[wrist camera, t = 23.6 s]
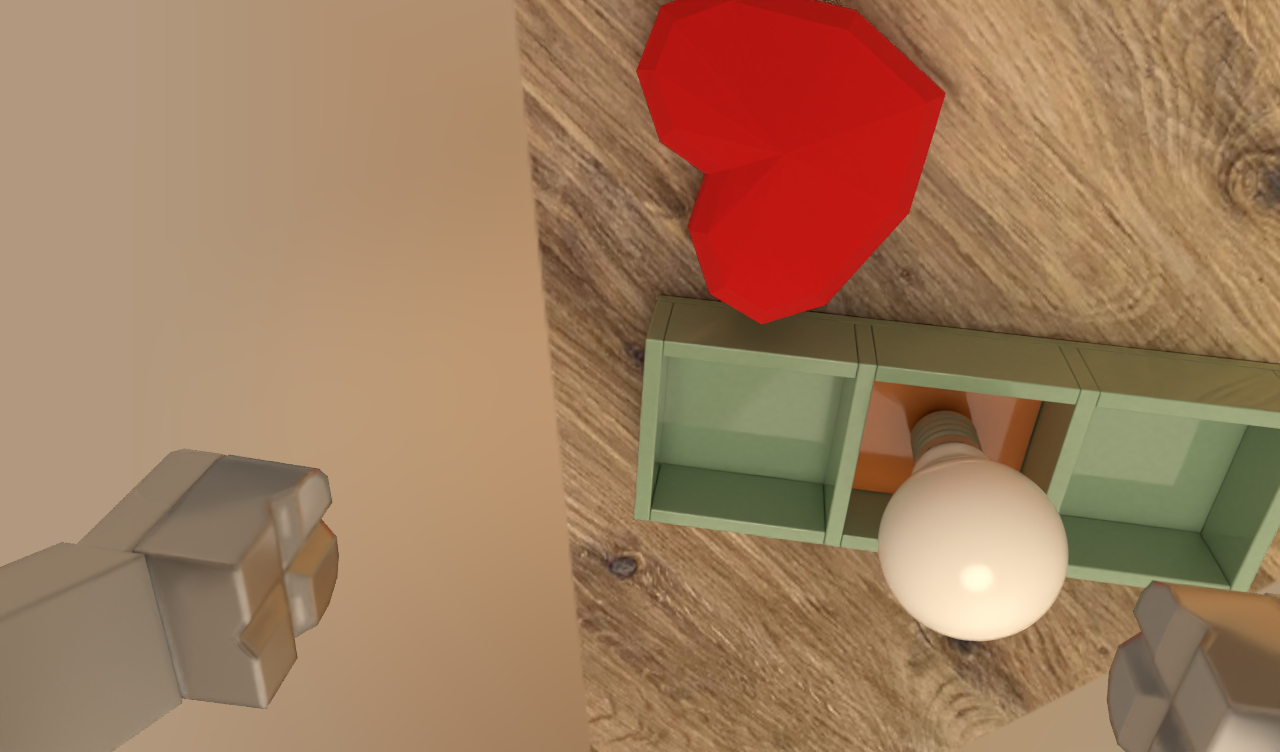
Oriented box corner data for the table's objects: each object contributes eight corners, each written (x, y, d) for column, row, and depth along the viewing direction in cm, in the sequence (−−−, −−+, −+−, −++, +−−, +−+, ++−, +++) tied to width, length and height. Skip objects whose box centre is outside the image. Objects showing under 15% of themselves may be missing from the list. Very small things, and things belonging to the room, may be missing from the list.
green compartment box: (646, 465, 45) (633, 520, 41) (658, 294, 40) (645, 338, 37) (1206, 537, 42) (1243, 602, 39) (1284, 364, 38) (1334, 418, 35)
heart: (892, -77, 34) (626, 23, 36) (913, -95, 30) (612, 18, 32) (971, 243, 37) (723, 319, 39) (999, 266, 33) (721, 349, 35)
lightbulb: (962, 512, 43) (1010, 706, 33) (836, 452, 42) (848, 632, 33) (1052, 405, 39) (1134, 586, 30) (917, 338, 39) (957, 501, 29)
